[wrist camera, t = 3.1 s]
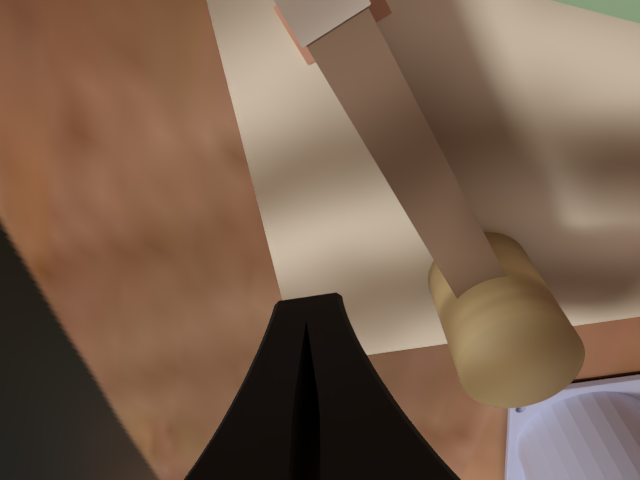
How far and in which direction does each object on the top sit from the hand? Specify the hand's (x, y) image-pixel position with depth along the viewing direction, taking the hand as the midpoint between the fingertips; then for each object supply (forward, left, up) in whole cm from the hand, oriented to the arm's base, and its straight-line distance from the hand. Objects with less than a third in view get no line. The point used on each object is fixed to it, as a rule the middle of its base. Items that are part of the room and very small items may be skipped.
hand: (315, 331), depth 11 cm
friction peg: (-1, -4, -8) cm, 9 cm away
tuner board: (-1, -6, -10) cm, 12 cm away
